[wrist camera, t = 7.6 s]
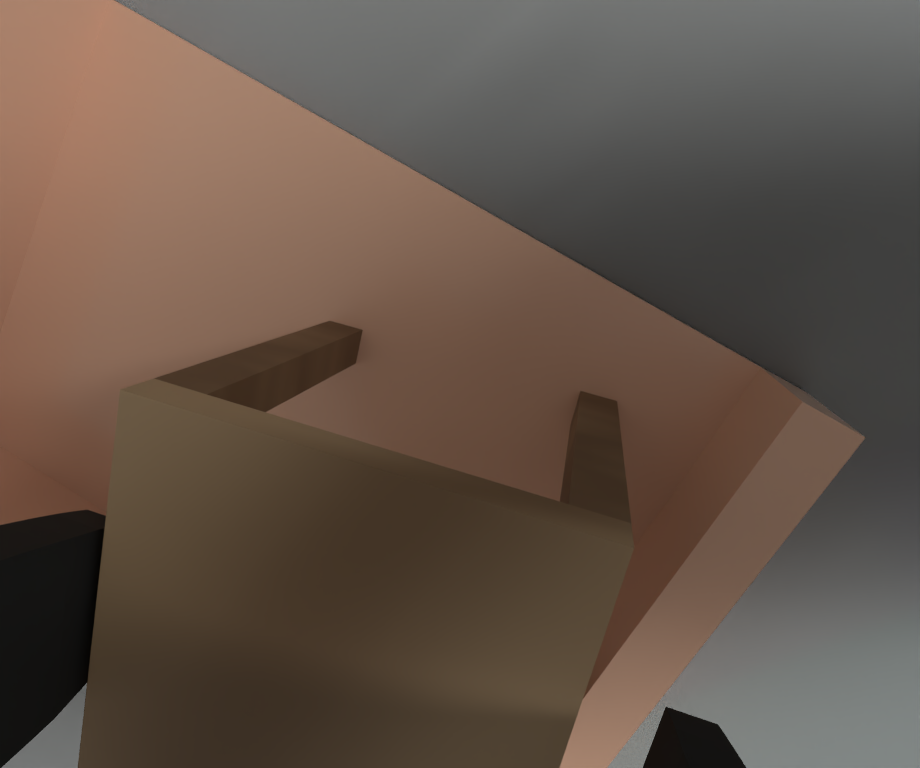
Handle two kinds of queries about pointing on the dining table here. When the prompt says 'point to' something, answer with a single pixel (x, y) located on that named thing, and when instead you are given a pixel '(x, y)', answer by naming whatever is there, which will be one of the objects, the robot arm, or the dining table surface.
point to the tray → (362, 325)
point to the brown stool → (338, 584)
